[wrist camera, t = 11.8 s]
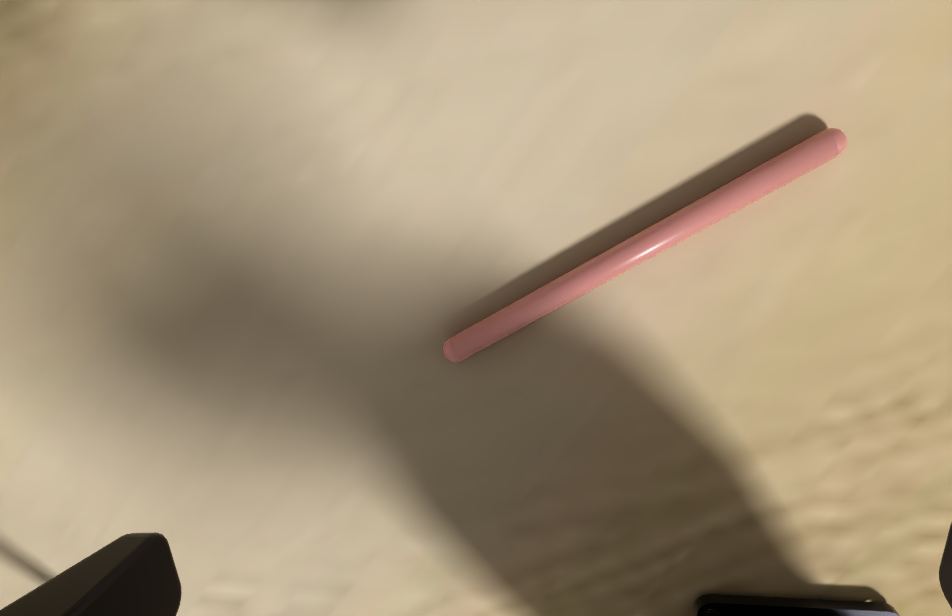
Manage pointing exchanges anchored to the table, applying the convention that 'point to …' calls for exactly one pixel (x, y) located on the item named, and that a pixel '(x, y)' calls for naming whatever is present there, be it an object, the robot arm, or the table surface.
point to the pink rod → (649, 242)
